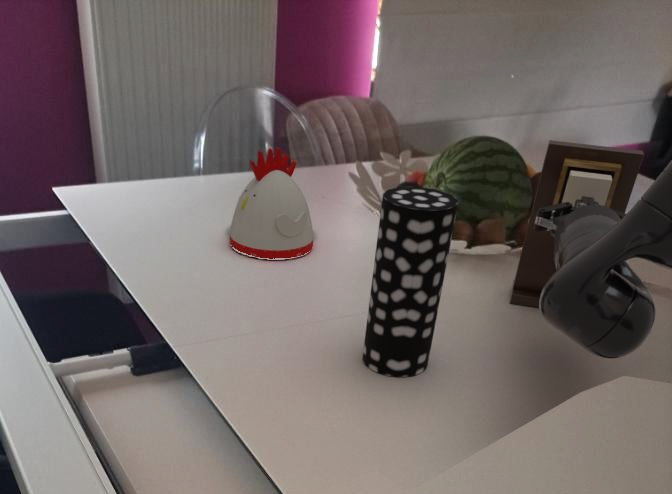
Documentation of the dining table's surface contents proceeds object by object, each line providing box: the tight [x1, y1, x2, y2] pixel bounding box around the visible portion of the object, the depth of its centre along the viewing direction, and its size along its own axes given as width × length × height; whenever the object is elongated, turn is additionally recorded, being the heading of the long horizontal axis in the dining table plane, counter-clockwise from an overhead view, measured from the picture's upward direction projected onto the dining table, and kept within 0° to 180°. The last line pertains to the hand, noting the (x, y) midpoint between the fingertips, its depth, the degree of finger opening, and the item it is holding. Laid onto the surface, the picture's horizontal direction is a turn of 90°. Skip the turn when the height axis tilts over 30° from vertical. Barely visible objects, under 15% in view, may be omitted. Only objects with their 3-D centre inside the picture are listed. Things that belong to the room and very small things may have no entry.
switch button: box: [562, 171, 612, 207], centre depth 98 cm, size 2×5×6 cm, turn 74°
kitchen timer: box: [229, 146, 314, 259], centre depth 119 cm, size 14×14×15 cm
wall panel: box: [509, 139, 645, 309], centre depth 104 cm, size 6×12×22 cm, turn 74°
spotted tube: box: [362, 186, 459, 378], centre depth 88 cm, size 8×8×20 cm
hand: (585, 204), depth 96 cm, fingers closed
